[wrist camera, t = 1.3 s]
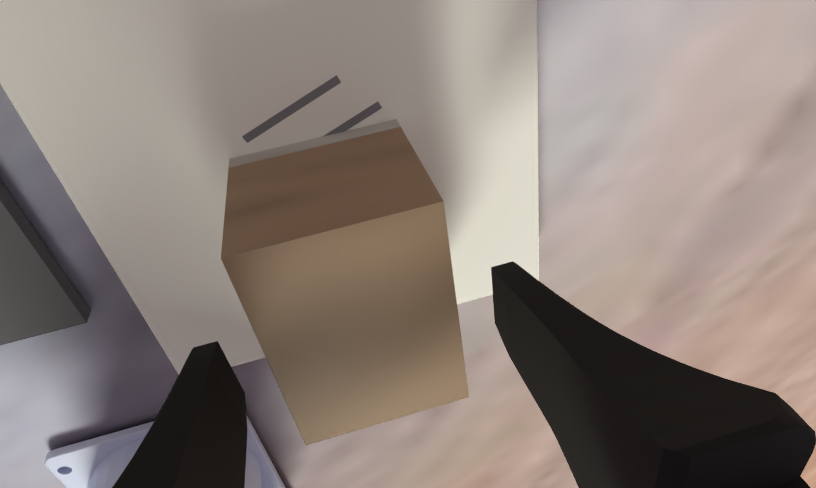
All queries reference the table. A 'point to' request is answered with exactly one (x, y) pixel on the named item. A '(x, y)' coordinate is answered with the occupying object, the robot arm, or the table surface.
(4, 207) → the mat
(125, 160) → the board
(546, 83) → the table surface
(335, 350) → the block
